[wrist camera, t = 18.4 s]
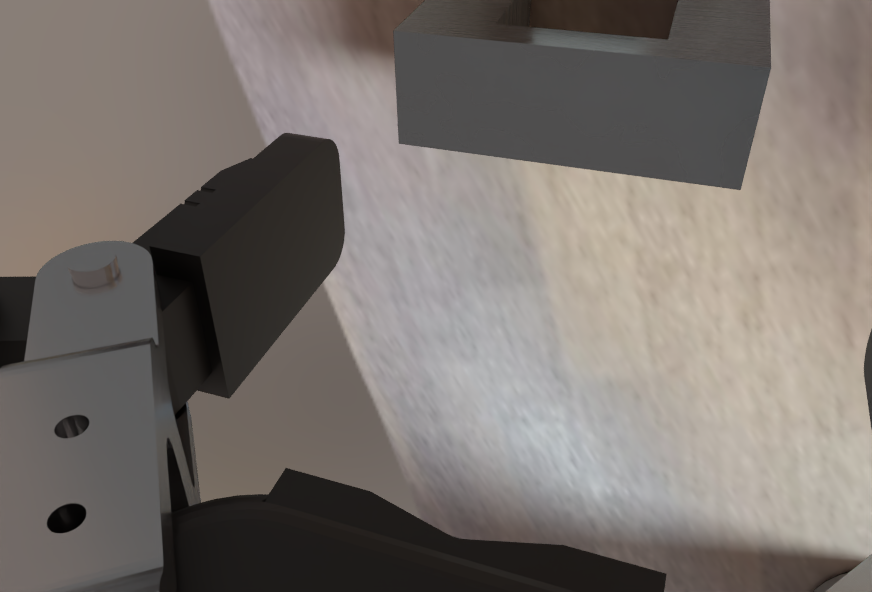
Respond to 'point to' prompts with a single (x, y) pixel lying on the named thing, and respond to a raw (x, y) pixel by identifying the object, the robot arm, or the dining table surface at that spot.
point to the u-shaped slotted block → (587, 89)
